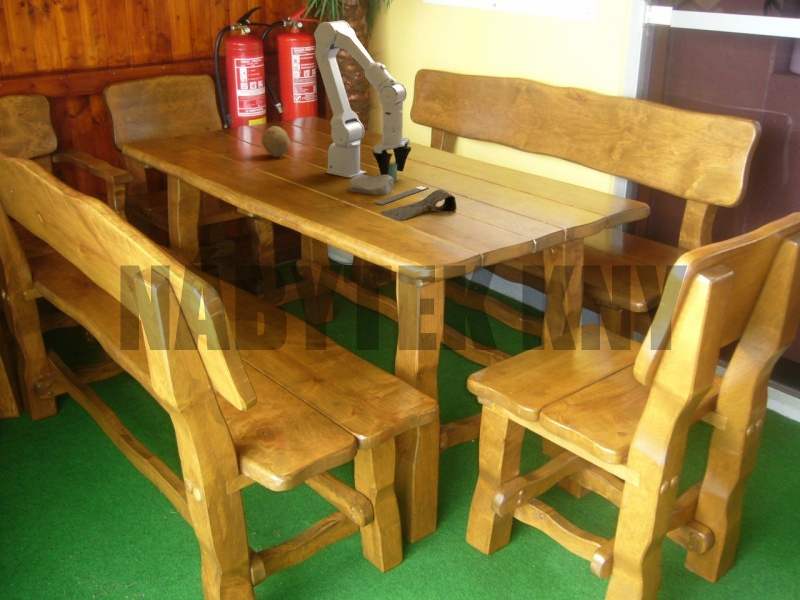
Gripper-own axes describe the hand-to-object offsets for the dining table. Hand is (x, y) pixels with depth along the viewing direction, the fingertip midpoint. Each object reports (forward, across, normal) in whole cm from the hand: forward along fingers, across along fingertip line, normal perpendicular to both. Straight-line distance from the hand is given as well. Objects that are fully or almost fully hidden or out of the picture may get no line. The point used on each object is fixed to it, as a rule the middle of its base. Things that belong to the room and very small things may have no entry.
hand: (392, 173), depth 242 cm
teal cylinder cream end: (+2, 0, 0) cm, 2 cm away
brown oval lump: (+2, 0, +47) cm, 47 cm away
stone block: (+3, -12, -2) cm, 13 cm away
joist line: (+2, -11, -12) cm, 16 cm away
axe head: (+3, -21, -25) cm, 33 cm away
